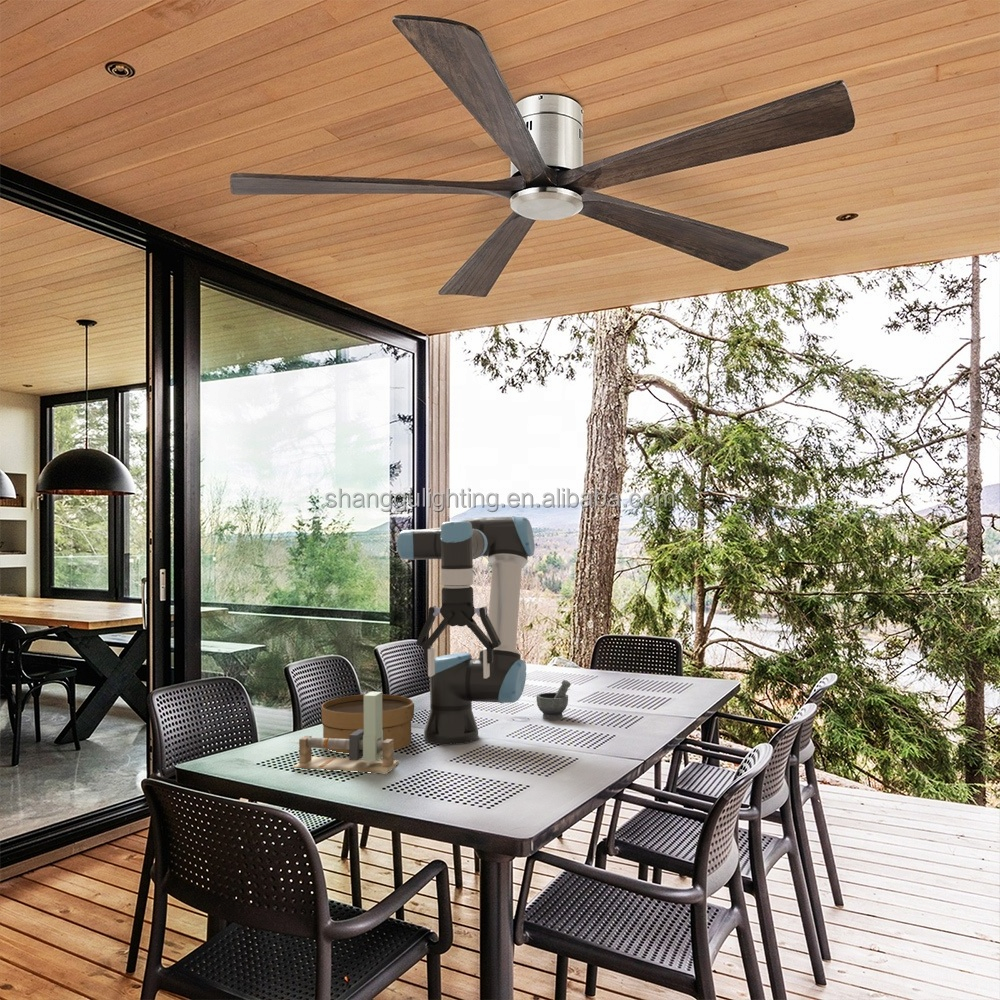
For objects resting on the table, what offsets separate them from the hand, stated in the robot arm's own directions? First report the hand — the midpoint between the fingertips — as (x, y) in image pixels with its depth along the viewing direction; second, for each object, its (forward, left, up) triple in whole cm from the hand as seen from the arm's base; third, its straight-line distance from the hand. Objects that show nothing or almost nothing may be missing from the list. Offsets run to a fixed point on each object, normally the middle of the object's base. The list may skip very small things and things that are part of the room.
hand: (458, 676), depth 188 cm
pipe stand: (-11, -28, -23) cm, 38 cm away
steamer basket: (-34, -25, -24) cm, 48 cm away
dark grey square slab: (-10, -25, -21) cm, 34 cm away
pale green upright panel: (-9, -21, -21) cm, 31 cm away
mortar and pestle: (-57, +30, -24) cm, 69 cm away
